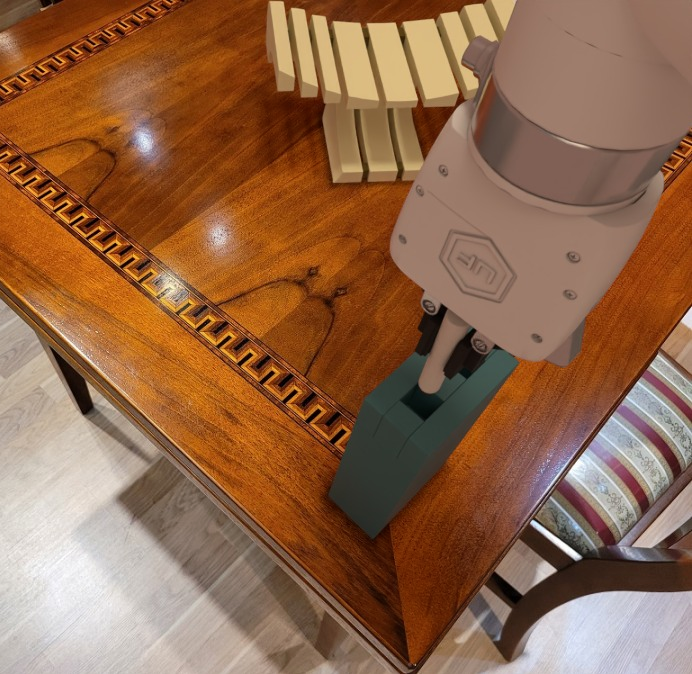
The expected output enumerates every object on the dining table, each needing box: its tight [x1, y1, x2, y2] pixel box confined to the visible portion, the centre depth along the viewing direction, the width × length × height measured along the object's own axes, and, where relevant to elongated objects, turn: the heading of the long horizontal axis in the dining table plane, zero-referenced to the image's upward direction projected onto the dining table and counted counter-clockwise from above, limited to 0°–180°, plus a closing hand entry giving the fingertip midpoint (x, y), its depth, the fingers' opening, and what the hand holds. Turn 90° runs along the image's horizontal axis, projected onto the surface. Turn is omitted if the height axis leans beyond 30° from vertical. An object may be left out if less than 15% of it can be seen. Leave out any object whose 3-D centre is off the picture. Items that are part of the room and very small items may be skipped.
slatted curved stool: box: [265, 0, 515, 184], centre depth 86 cm, size 30×16×18 cm, turn 93°
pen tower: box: [327, 326, 521, 540], centre depth 58 cm, size 6×11×22 cm, turn 133°
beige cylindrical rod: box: [418, 309, 471, 395], centre depth 42 cm, size 2×2×11 cm
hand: (446, 351), depth 42 cm, fingers closed on beige cylindrical rod, 1 cm apart
